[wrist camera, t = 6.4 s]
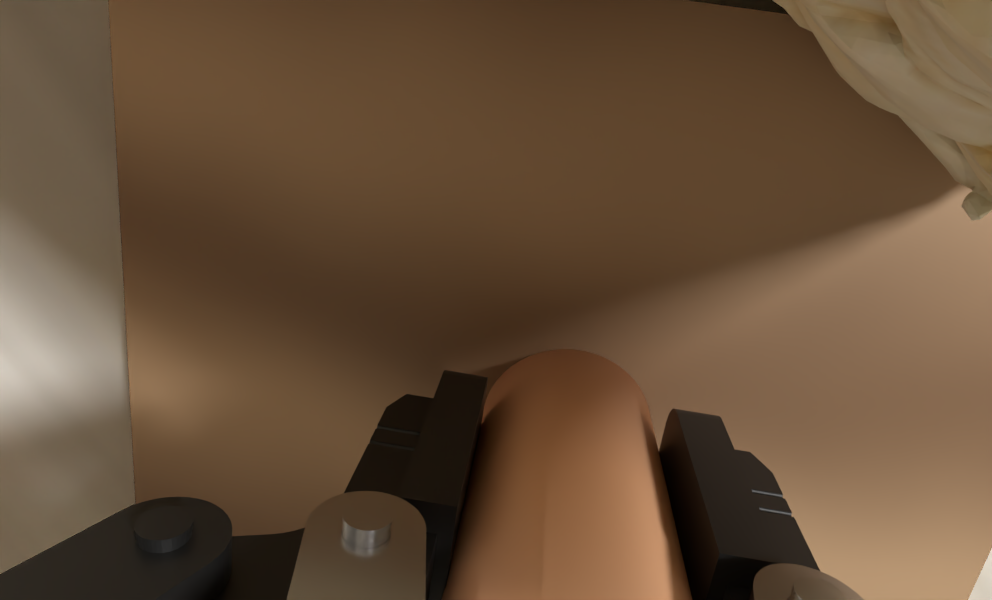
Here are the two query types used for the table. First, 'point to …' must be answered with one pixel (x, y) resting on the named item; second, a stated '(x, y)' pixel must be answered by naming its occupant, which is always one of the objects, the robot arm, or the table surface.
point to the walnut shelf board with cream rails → (547, 252)
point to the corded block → (567, 490)
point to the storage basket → (919, 73)
